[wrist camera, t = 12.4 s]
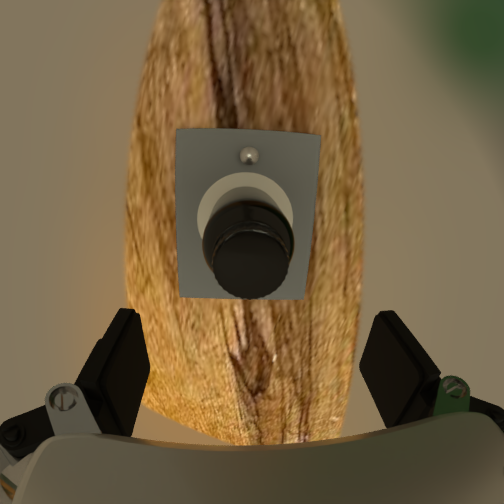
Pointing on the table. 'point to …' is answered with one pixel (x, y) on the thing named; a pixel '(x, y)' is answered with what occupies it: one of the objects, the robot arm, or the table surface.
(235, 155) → the board
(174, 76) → the table surface
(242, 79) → the table surface
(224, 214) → the supplement bottle
